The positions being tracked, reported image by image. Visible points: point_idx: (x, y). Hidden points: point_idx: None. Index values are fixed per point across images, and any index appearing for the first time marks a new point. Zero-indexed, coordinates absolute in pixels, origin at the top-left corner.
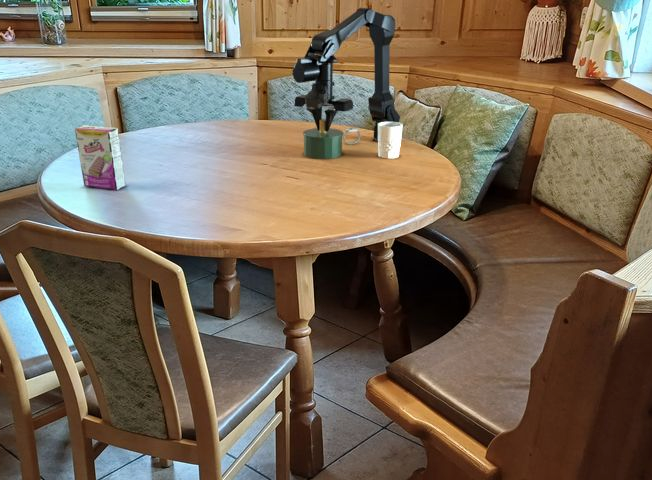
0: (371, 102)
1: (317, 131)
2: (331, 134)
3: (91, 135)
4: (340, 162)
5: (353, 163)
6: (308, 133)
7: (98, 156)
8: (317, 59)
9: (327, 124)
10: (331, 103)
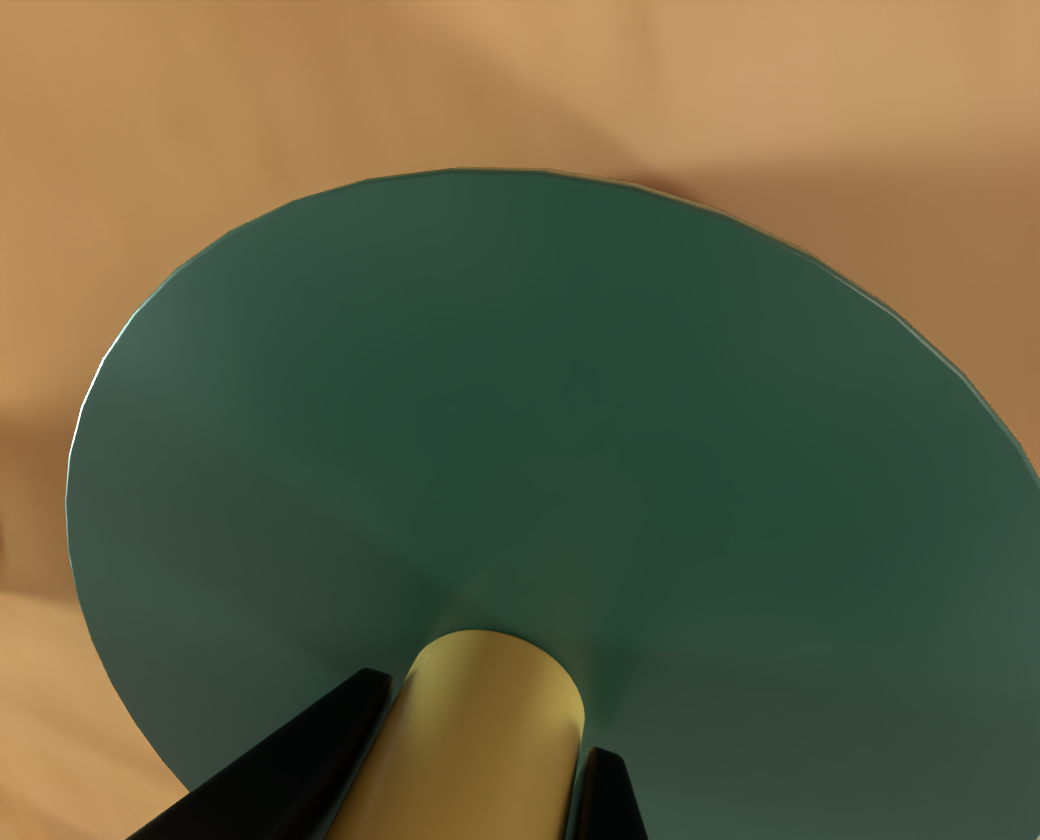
0: None
1: (659, 787)
2: (250, 552)
3: None
4: (191, 73)
5: (23, 77)
6: (879, 590)
7: None
8: None
9: (211, 799)
10: None
